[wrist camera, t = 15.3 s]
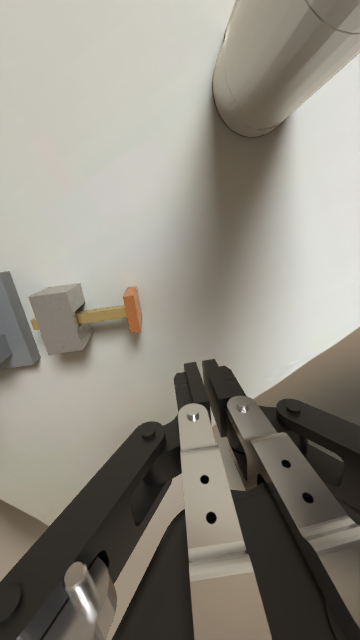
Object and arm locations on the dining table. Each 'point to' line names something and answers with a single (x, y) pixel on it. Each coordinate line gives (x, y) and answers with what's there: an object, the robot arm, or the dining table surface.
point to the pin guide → (61, 318)
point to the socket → (14, 328)
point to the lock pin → (113, 312)
